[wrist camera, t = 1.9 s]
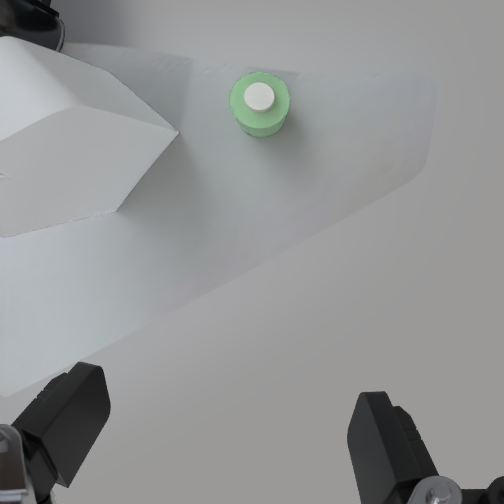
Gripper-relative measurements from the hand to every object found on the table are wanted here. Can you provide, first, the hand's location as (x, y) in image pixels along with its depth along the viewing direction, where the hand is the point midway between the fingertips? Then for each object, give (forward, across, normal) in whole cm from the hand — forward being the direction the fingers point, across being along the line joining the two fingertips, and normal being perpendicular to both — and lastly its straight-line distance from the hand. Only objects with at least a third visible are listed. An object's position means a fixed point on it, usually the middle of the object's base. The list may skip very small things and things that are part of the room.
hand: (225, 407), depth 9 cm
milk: (+27, +17, -10) cm, 33 cm away
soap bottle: (+26, 0, -13) cm, 29 cm away
